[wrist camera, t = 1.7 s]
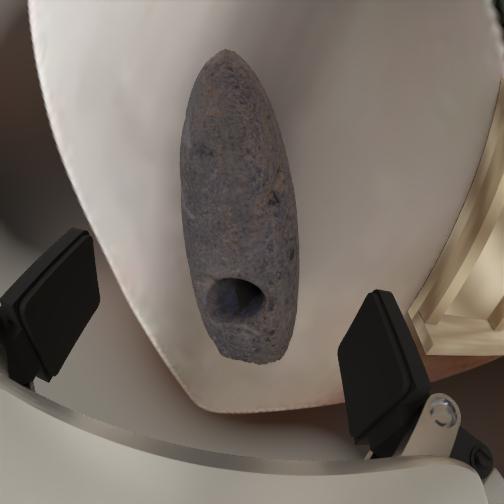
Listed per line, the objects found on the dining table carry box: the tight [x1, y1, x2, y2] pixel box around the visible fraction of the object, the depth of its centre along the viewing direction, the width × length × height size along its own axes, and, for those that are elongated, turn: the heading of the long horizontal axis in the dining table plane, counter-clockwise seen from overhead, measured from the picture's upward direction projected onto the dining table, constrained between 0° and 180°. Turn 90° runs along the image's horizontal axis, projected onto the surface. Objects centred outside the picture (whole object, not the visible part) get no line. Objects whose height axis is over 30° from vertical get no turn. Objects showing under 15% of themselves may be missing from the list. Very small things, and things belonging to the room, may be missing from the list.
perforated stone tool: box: [180, 49, 299, 365], centre depth 13 cm, size 15×5×7 cm, turn 4°
